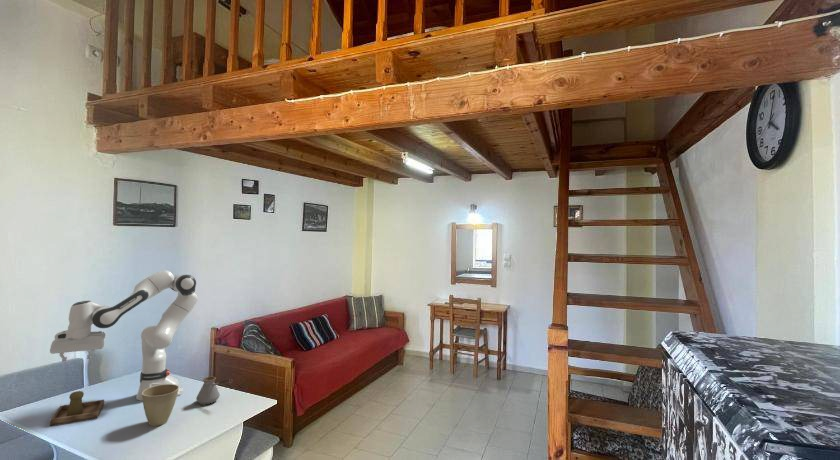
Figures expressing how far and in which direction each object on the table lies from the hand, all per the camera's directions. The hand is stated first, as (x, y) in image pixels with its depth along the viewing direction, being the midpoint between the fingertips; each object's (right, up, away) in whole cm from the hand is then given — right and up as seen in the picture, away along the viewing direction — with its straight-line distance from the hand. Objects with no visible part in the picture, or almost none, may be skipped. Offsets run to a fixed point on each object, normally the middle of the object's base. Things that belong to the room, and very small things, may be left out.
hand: (76, 359), depth 185 cm
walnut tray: (+5, -26, -4) cm, 27 cm away
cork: (+5, -26, -6) cm, 27 cm away
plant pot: (+48, -28, -8) cm, 56 cm away
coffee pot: (+62, -30, +16) cm, 71 cm away
